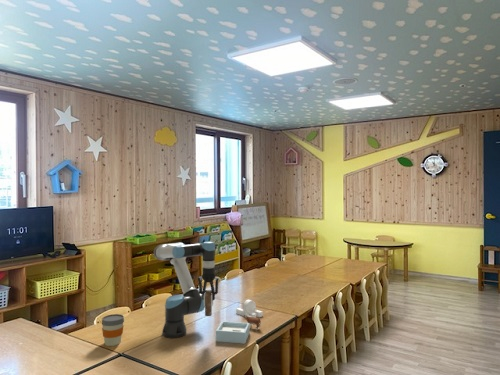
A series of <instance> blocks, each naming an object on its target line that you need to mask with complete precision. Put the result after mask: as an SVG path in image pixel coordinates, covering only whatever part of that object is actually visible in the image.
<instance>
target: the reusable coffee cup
mask: <svg viewBox="0 0 500 375" xmlns="http://www.w3.org/2000/svg"><path fill="white" fill-rule="evenodd" d="M124 317H125V316H124V315H123V314H119V313H118V314H117V313H115V314H107V315H105V316H103V317H102V320H101V326H102V328H101V332H102V336H103V339H104V345H105V346H106V347H107V346H108V347H113V346H117V345H120V343H122V337H123V336H122V335H123V333H124V326H125V325H124V322H125V318H124Z"/></svg>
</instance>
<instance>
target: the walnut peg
mask: <svg viewBox="0 0 500 375" xmlns="http://www.w3.org/2000/svg"><path fill="white" fill-rule="evenodd" d="M211 295H212V291H211V289H206V290H205V308H204V316H206V317H212V315H213V314H212V311H213V310H212V309H213V308H212V307H213V306H211Z"/></svg>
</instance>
